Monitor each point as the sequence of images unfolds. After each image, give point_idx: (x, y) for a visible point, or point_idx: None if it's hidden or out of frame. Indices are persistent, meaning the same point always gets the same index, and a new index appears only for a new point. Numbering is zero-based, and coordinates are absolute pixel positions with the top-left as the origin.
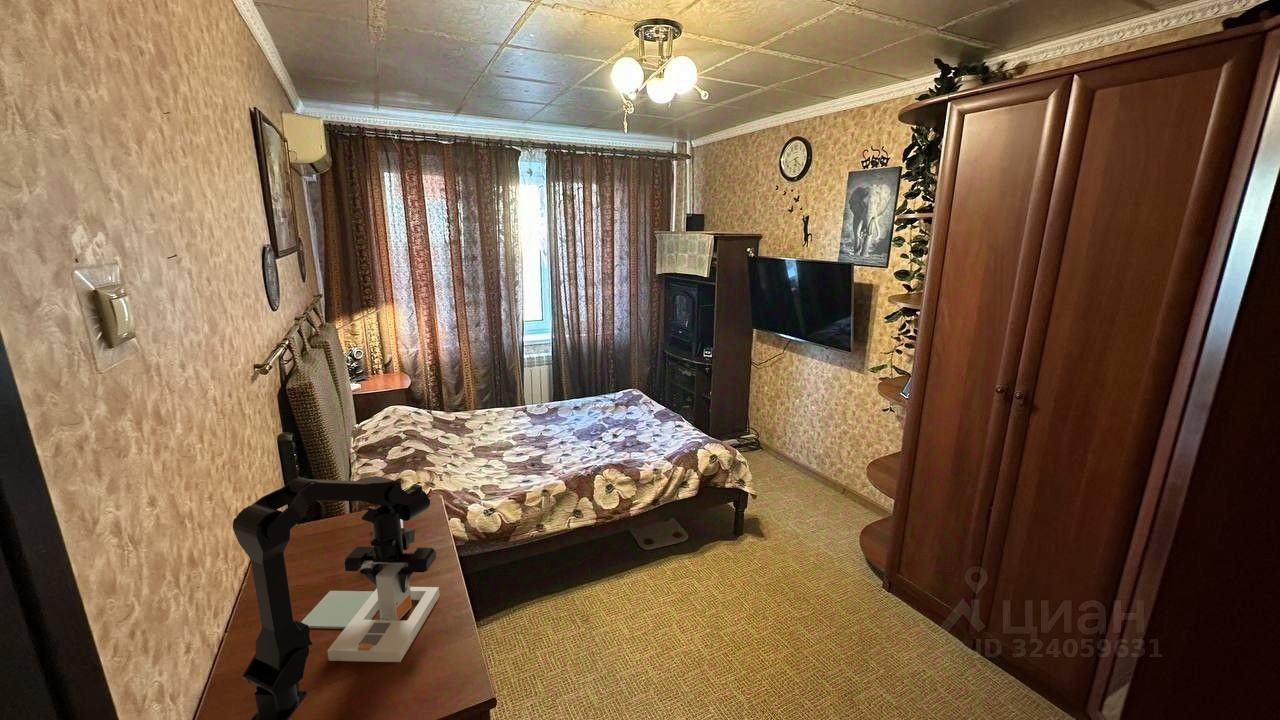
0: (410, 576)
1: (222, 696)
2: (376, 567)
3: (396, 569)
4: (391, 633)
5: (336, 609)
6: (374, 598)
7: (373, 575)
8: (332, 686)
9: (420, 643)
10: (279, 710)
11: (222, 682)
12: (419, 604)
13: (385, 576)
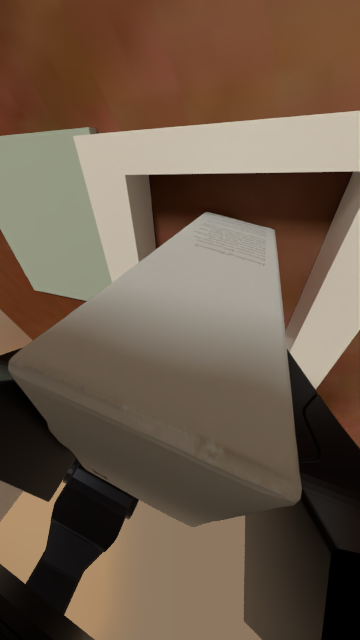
0: (318, 397)
1: None
2: (16, 480)
3: (182, 504)
4: None
5: (50, 242)
6: (118, 236)
7: (70, 466)
8: None
9: (327, 381)
10: None
11: None
12: (329, 294)
13: (145, 502)
